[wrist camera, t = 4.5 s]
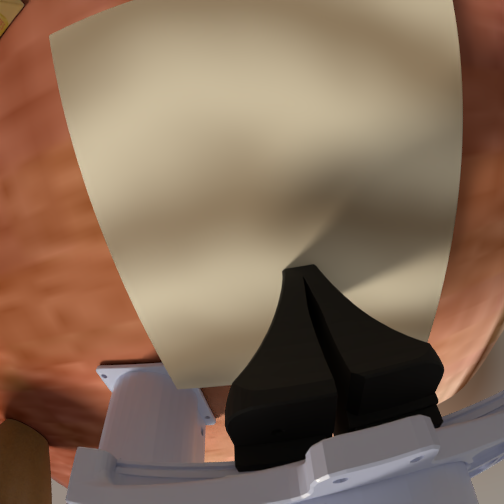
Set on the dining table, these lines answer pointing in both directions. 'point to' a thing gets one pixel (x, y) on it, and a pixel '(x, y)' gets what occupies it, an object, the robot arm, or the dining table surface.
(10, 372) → the dining table surface
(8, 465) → the plant pot
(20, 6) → the candy box
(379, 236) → the lid
